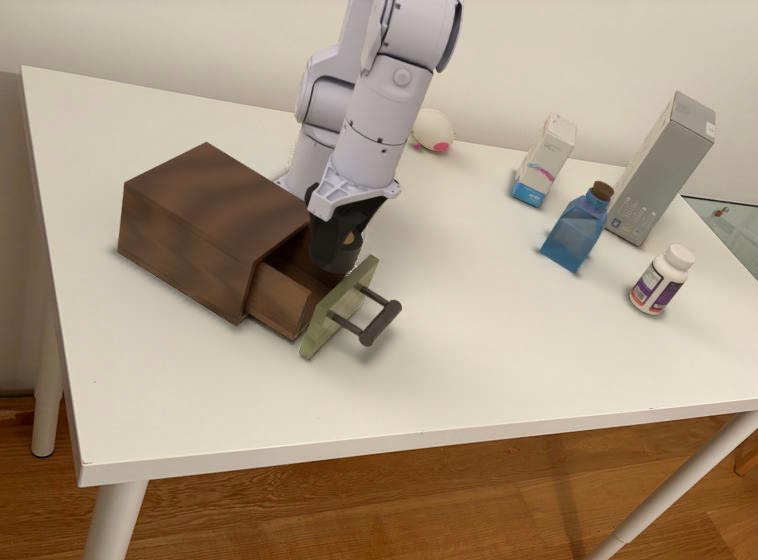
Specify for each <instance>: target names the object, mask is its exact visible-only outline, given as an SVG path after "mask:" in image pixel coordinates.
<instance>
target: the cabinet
mask: <svg viewBox="0 0 758 560" xmlns="http://www.w3.org/2000/svg"><path fill="white" fill-rule="evenodd" d="M120 209H121V210H120V218H119V219H120V220H119V230H118V238H117V239H118V240H117V248H116V249H117V250H116V251H117V253H119V254H120V255H122V256H124V257H125V258H127V260H128V259H129V260H130V261H132V262H133V263H135V264H136V265H138V266H139V267H141V268H143V269H145V270H146V271H147V272H149V273H151V274H152V275H154V276H155V277H157V278H159V279H160V280H162V281H164V282H165V283H167V284H169V285H170V286H171V287H173V288H175V289H176V290H178V291H179V292H181V293H182V294H184V295H186V296H187V297H189V298H190V299H192V300H194V301H195V302H197V303H198V304H201V306H203V307H205V308H207V309H208V310H210V311H212V312H213V313H214V314H216V315H218V316H219V317H221V318H223V319H224V320H226V321H227V322H229V323H230V324H232V325H234V326H235V327H236V326H238V325H239V324H240V323H242V322H243V320H245V319H246V318H247V317H248V316H249V315H250V314H249V313H248V312H246V311H245V310H244V307H245V303H246V299H247V296H248V292H249V288H250V285H251V281H252V277H253V273H254V270H255V266H256V264H258V263H259V262H260V261H262V260H263V259H264V258H265V257H267V256H268V255H269V254H271V253H272V252H273V251H275V250H276V249H277V248H279V247H280V246H281V245H282V244H284V243H285V242H286V241H288V240H289V239H290V238H292V237H293V236H294V235H295V234H297V233H298V232H299V231H301V230H302V229H303V228H305V227H306V226H307V225H309V224H311V221H310V216H309V211H308V210H307V206H306V203H305V201H303V200H302V199H300V198H298V197H297V196H295V195H293V194H292V193H290V192H288V191H287V190H285V189H284V188H282V187H280V186H279V185H277V184H275V183H274V181H272V180H270V179H269V178H267V177H266V176H263V174H261V173H260V172H258V171H255V170H254V169H253V168H251V167H249V166H248V165H246V164H244V163H242V162H241V161H239V160H238V159H236V158H234V157H233V156H231V155H229V154H228V153H226V152H224V151H223V150H221V149H220V148H218V147H217V146H215V145H213V144H211V143H210V142H208V141H205V142H203V143H201V144H198V145H197V146H194V147H192V148H191V149H189V150H186V151H185V152H182V153H180V154H178V155H176V156H174V157H172V158H170V159H168V160H166V161H164V162H162V163H160V164H158V165H156V166H154V167H152V168H150V169H148V170H146V171H144V172H142V173H140V174H137V175H136V176H134V177H132V178H129V179H128V180H125V181H124V182H123V191H122V200H121V208H120Z"/></svg>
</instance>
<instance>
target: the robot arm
mask: <svg viewBox="0 0 758 560" xmlns="http://www.w3.org/2000/svg"><path fill="white" fill-rule="evenodd" d="M464 13H465V0H348V2H347V6H346V10H345V13H344V17H343V19H342V24H341V28H340V31H339V35H338V39H337V43H336V44H334V45H331V46H328V47H326V48H323V49H319V50H317V51H315V52H313V53H312V54H310V57H308V58H307V60H306V64H305V68H304V71H303V73H302V75H301V77H300V82H299V86H298V89H297V94H296V98H295V104H294V111H293V117H294V118H295V120H296V123H298V124H301V126H300V129H299V134H298V137H297V141H296V144H295V148H294V150H293V154H292V157H291V158H292V159H291V161H290V165H289V170H288V171H287V173H285V174H284V175H282V176H281V177H279V178H277V179H276V180H274V181H273V182H274V183H275V184H277V185H279V186H280V187H282V188H284V189H285V190H287V191H288V192H290V193H292V194H293V195H295V196H297V197H298V198H300V199H302V200H303V201H305V203H306V206H307V210H308V211H309V216H310V221H311V255H312V256H314V257H316V258H317V259H319V260H321V261H322V262H324V263H326V264H329V263H331V262H332V261H333V259H334V258H335V257H336V256H337V254H338V252H339V251H340V249H341V247H342V245H343V243H344V242H345V240H346V238H347V237H348V235H349V234H350V233H351V231H352V230H353V229H354V228H356V229H357V230H358V231H359V232H360V233H361V235H362V234H363V232H364V231H365V230H366V228H367V227H368V226H369V223H370V222H371V220H372V219H373V217H374V216H375V214H376V213H377V212H378V211H379V210H380V209H381V207H382V206H383V205H384V204H385V202H387V200H390V201H391V200H392V201H393V200H395V199H397V198H398V197H399V196H400V195H401V192H402V191H403V187H402V185H401V184H400V183H399V181H397V180H396V178H395V176H396V171H397V168H398V165H399V163H400V161H401V158H402V156H403V153H404V150H405V147H406V145H407V143H408V141H409V138H410V135H411V132H412V128H413V125H414V123H415V120H416V118H417V115H418V113H419V110H421V109H422V105H423V103H424V100H425V98H426V95H427V92H428V90H429V87H430V85H431V83H432V80H433V77H434V70H435V71H436V72H437V73H438V74H441V73H443V72H444V71H445V70H446V69H447V67H448V65H449V63H450V61H451V59H452V57H453V56H454V52H455V49H456V47H457V44H458V41H459V38H460V34H461V29H462V27H463V26H462V25H463V21H464Z"/></svg>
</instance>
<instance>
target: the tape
mask: <svg viewBox="0 0 758 560" xmlns="http://www.w3.org/2000/svg"><path fill="white" fill-rule="evenodd" d="M363 244H364V237H363V235H362V234H361V233H360V232H359V231H358V230H357V229H356V228H354V229H353V230H352V231H351V233H350V234H349V235H348V237H347V238H346V240H345V242H344V243H343V245H342V247H341V249H340V251H339V252H338V254H337V256H336V257H335V258H334V259H333V261H332V262H331V263H329V264H326V263H324V262H322V261H321V260H319V259H317V258H316V257H314V256H312V255H311V243H310V246H309V249H308V255H309V257H310V259H311V261H312V262H313V263H314V264H315V265H316V266H318V267H319V268H321V269H323V270H325V271H327V272H331V273H337V274H342V273H347V272H348V273H349V272H352V271H353V270H354V268H355V265H356V262H357V260H358V257H359V256H360V252H361V249H362V247H363Z"/></svg>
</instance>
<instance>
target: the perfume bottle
mask: <svg viewBox="0 0 758 560" xmlns="http://www.w3.org/2000/svg"><path fill="white" fill-rule="evenodd" d="M613 188H614V187H612V186H611V185H609V184H608V183H607V182H604V181H602V180H595V181H594V183H593V185H592V187H589V188H588V190H587V191H586V193H585V194H582V195H580V196H578V197H576V198H575V199H573V200H571V201H569V202H568V204H567V206H566V207H565V209H564V210H563V211H562V212H561V214H560V216H559V217H558V218H557V221H556V222H555V224H554V226H553V228H552V229H551V231H550V232H549V234H548V236H547V237H546V239H545V240H544V242H543V244H542V245H541V247H540V249H539V250H538V253H540V254H541V255H543V256H544V257H546V258H547V259H549V260H551V261H553V262H554V263H556V264H557V265H559V266H560V267H563V268H564V269H566V270H567V271H568V272H571V273H572V274H574V275H576V274H577V272H578V271H579V269H580V268H581V266H582V265H583V264H584V262H585V260H587V259H586V258H587V257H588V256H589V254H590V253H591V252H592V250H593V249H594V247H595V245H596V244H597V243H598V241H599V239H600V237H601V235H602V233H603V232H604V230H605V229H606V228H605V226H606V224H607V209H606V207H607V206H608V205H609V203H610V202H611V199H610V198H611V197H612V196H613V195H614V193H615V192H614V190H613Z"/></svg>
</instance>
